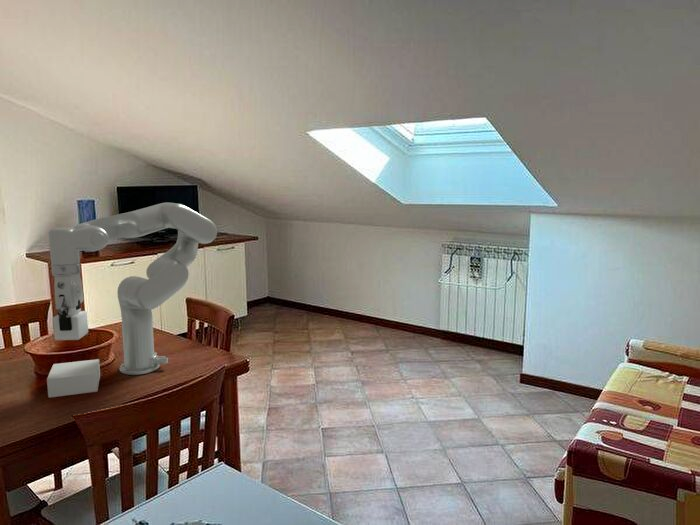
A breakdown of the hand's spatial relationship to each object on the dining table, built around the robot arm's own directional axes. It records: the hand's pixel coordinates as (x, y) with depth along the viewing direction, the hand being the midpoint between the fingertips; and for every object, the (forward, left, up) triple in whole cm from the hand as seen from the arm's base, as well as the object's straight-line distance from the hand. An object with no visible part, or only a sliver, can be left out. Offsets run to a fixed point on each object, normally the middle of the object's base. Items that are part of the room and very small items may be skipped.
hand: (71, 325), depth 157 cm
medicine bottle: (0, 0, -4) cm, 4 cm away
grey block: (0, 0, -20) cm, 20 cm away
